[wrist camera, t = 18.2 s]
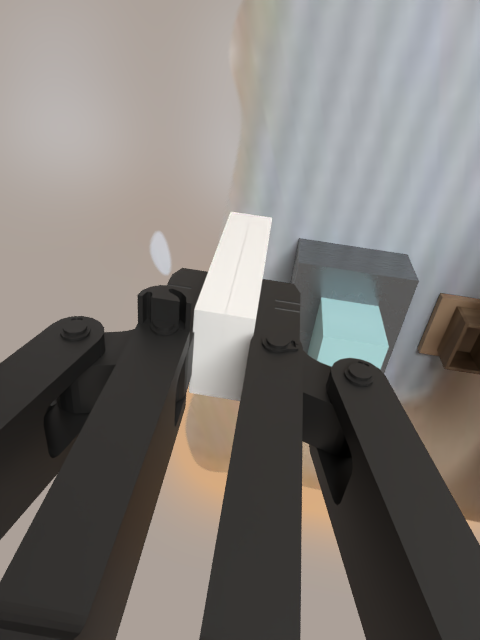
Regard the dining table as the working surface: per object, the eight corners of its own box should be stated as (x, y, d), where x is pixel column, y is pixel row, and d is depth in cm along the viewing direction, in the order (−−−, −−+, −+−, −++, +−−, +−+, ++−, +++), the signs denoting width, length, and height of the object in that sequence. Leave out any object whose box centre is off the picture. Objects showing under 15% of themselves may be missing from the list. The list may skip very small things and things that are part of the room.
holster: (510, 304, 52) (526, 326, 49) (482, 358, 57) (494, 382, 53) (440, 293, 53) (450, 314, 49) (417, 348, 57) (425, 371, 54)
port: (407, 254, 51) (419, 282, 45) (368, 365, 60) (374, 399, 54) (299, 238, 51) (298, 264, 46) (277, 351, 60) (274, 383, 55)
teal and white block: (374, 287, 51) (394, 367, 40) (353, 350, 56) (366, 438, 45) (320, 278, 51) (324, 356, 40) (304, 342, 56) (304, 428, 45)
